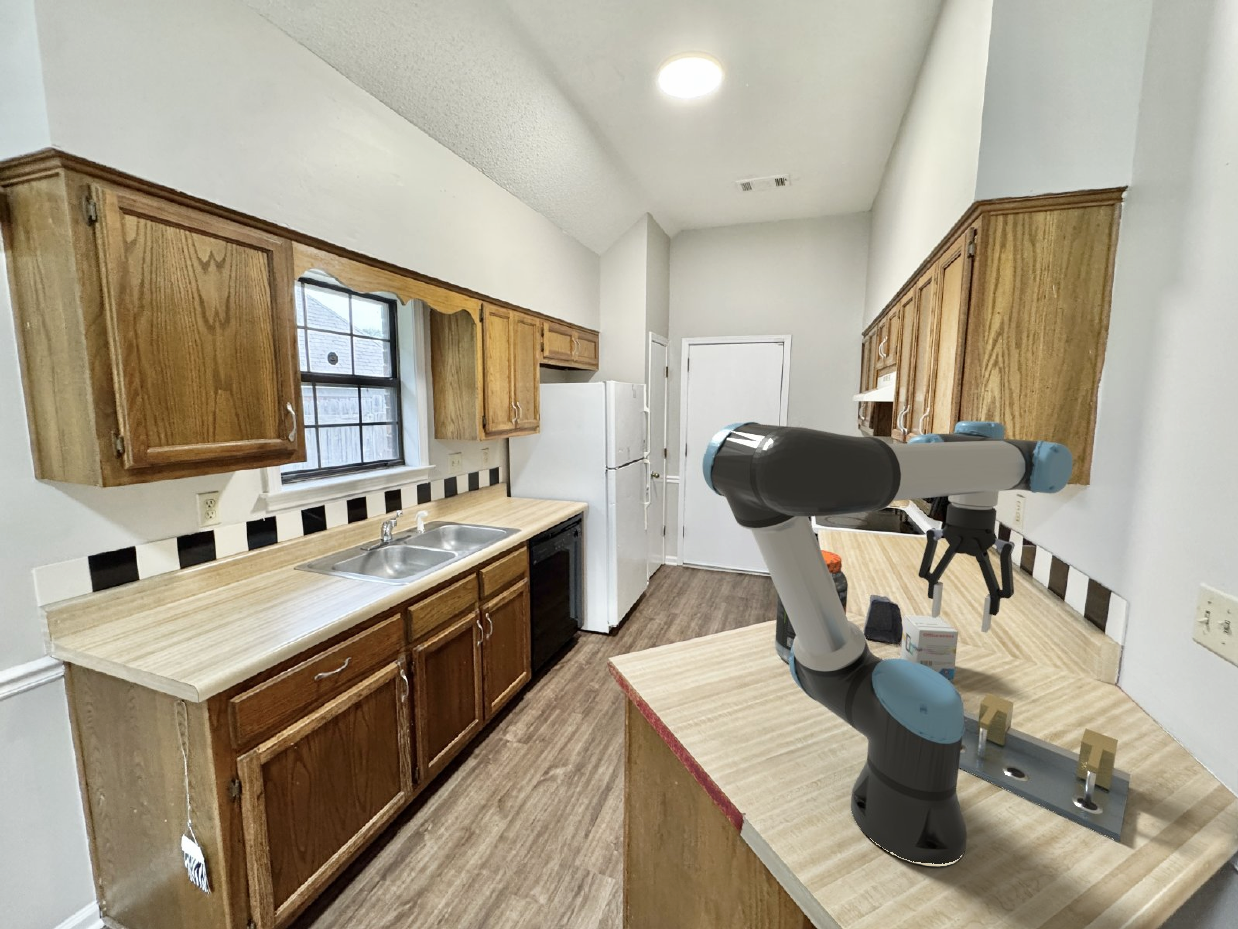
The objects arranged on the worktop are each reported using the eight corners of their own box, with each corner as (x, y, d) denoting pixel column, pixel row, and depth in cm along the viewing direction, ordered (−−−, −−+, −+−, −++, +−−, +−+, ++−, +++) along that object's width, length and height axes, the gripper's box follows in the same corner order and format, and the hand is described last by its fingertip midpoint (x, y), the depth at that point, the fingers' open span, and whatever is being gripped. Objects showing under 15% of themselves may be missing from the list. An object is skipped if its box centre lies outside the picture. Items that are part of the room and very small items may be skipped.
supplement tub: (850, 676, 119) (858, 567, 115) (779, 670, 121) (785, 563, 118) (833, 644, 134) (839, 547, 131) (770, 639, 137) (775, 544, 133)
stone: (898, 654, 133) (858, 637, 136) (890, 644, 142) (852, 627, 145) (916, 611, 132) (875, 594, 135) (906, 604, 142) (868, 588, 145)
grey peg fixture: (1119, 842, 75) (1126, 792, 74) (921, 751, 94) (925, 710, 93) (1128, 787, 86) (1135, 743, 85) (949, 715, 105) (953, 678, 104)
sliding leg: (993, 762, 89) (997, 728, 88) (966, 750, 92) (970, 717, 91) (1009, 733, 97) (1013, 702, 96) (984, 723, 100) (987, 692, 99)
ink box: (936, 661, 126) (940, 615, 125) (954, 680, 118) (959, 631, 116) (899, 659, 127) (903, 613, 126) (915, 677, 119) (919, 629, 117)
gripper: (1046, 511, 91) (1031, 635, 94) (918, 494, 106) (909, 601, 109) (1037, 518, 86) (1022, 648, 89) (904, 499, 101) (895, 611, 104)
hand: (960, 622), depth 99 cm, fingers open, 8 cm apart
